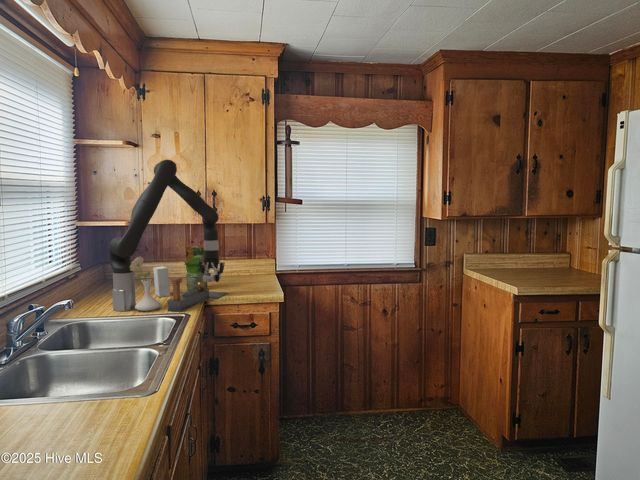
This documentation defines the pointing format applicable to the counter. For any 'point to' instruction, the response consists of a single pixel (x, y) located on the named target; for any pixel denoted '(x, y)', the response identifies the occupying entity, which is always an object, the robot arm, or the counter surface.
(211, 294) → the rubber mat
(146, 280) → the flower in vase
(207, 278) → the lever cap
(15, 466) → the counter surface
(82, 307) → the counter surface
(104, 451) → the counter surface
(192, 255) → the green plant in glass
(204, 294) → the hand plane
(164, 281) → the skincare box
